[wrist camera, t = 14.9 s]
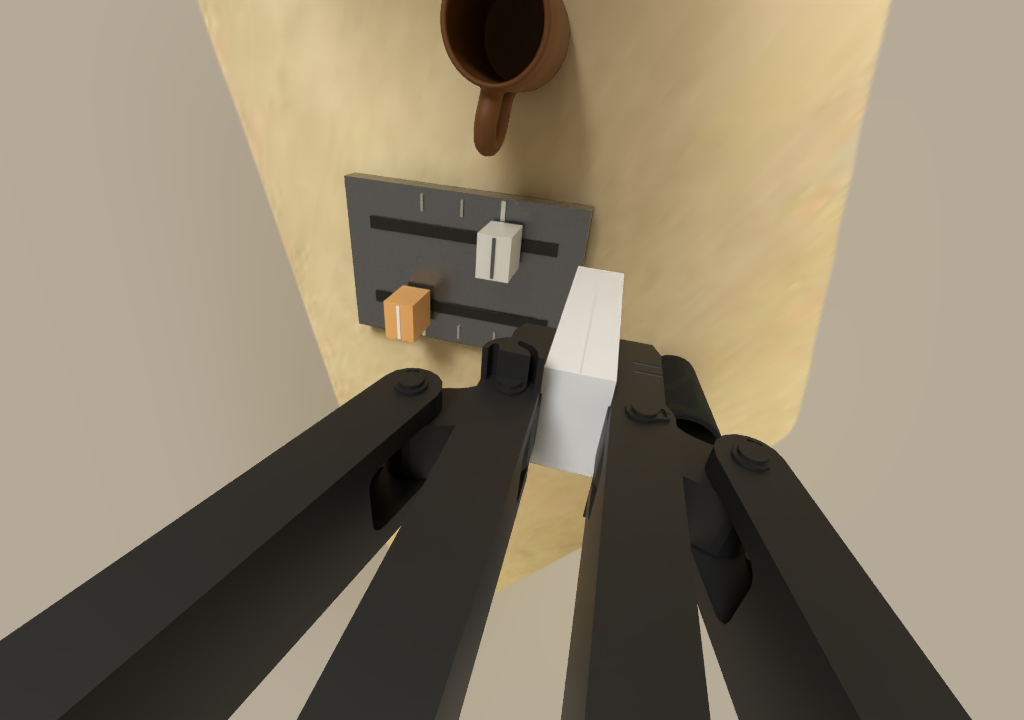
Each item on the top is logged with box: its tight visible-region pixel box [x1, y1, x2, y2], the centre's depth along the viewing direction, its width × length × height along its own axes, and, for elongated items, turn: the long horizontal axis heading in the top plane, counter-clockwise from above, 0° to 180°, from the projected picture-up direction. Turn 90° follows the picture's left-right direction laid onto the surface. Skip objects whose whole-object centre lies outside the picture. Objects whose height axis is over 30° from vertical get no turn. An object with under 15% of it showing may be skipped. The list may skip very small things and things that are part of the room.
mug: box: [440, 0, 570, 156], centre depth 34 cm, size 12×8×9 cm, turn 170°
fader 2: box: [475, 221, 523, 283], centre depth 41 cm, size 4×3×4 cm
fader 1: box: [384, 285, 430, 343], centre depth 46 cm, size 4×3×4 cm
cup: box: [661, 355, 721, 446], centre depth 44 cm, size 8×8×12 cm
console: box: [344, 173, 594, 348], centre depth 47 cm, size 16×24×2 cm, turn 85°
